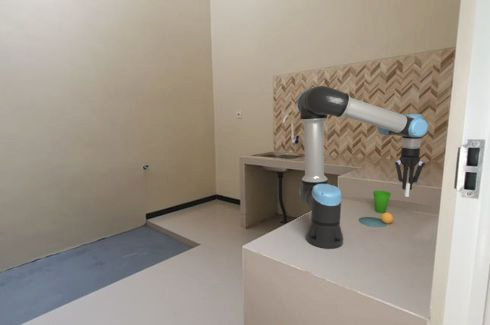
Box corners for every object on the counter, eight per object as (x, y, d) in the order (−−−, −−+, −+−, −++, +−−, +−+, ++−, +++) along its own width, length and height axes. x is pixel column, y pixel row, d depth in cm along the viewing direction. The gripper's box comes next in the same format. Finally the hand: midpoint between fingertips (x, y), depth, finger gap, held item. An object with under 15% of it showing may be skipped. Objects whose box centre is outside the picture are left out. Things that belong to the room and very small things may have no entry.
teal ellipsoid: (360, 225, 133) (360, 225, 133) (357, 216, 146) (357, 215, 146) (390, 228, 130) (390, 227, 130) (383, 218, 143) (383, 218, 143)
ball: (397, 219, 132) (390, 227, 134) (393, 214, 138) (386, 222, 139) (388, 213, 132) (380, 221, 134) (384, 208, 137) (377, 216, 139)
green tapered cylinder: (391, 215, 147) (393, 195, 146) (373, 214, 149) (375, 194, 147) (386, 209, 156) (388, 191, 154) (369, 208, 158) (371, 190, 156)
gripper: (423, 146, 130) (418, 194, 134) (393, 146, 134) (389, 193, 137) (429, 148, 123) (424, 199, 127) (397, 147, 127) (393, 197, 130)
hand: (406, 196), depth 132 cm, fingers closed
